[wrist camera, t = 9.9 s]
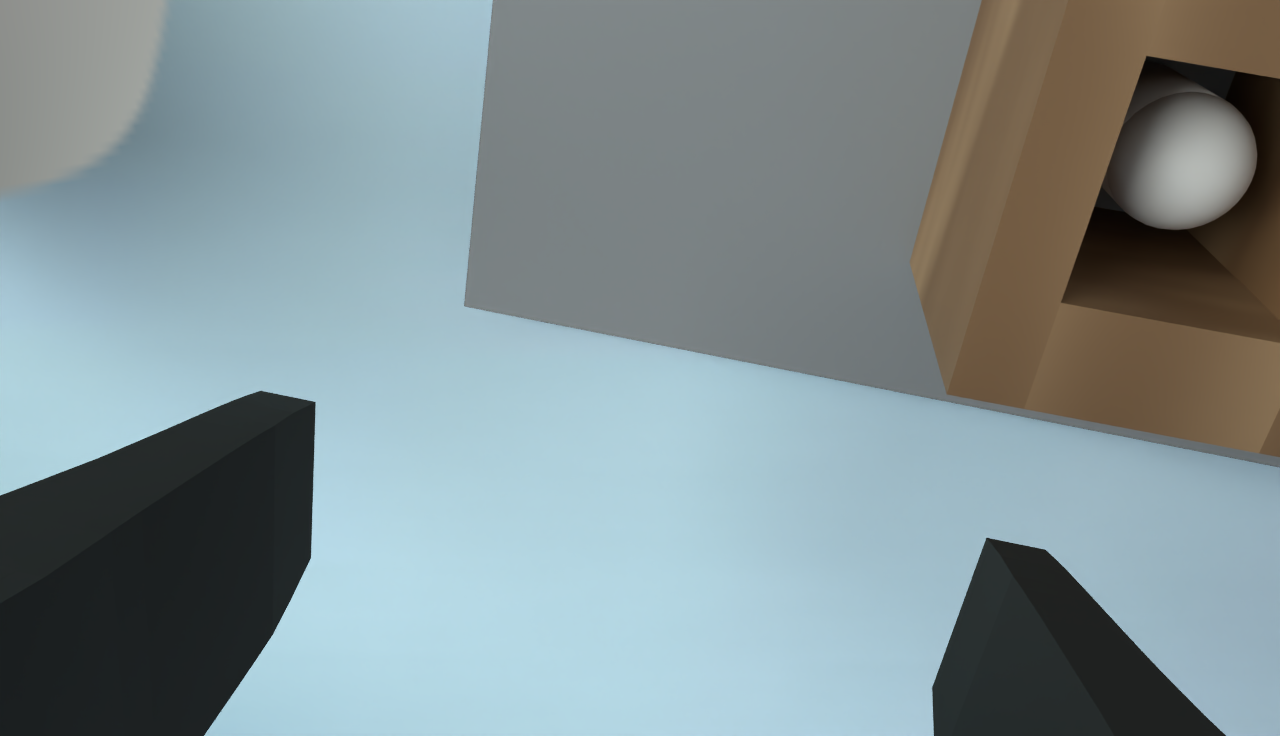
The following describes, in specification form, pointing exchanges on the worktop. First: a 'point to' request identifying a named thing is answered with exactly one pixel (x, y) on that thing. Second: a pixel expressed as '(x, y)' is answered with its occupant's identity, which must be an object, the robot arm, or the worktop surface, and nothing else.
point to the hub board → (774, 176)
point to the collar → (1103, 228)
